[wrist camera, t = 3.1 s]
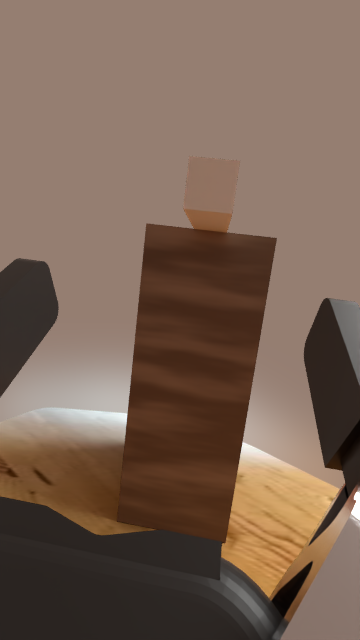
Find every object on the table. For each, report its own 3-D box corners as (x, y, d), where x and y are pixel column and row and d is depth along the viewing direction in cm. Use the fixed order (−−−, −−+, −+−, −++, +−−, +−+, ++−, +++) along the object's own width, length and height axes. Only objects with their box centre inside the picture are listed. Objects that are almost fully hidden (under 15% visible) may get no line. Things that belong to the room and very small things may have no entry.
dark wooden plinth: (225, 542, 34) (276, 238, 28) (117, 521, 35) (146, 223, 29) (222, 456, 50) (255, 249, 44) (147, 443, 51) (170, 239, 45)
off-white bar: (232, 213, 19) (239, 160, 18) (183, 208, 19) (189, 156, 19) (222, 245, 45) (225, 223, 44) (201, 242, 45) (204, 221, 44)
